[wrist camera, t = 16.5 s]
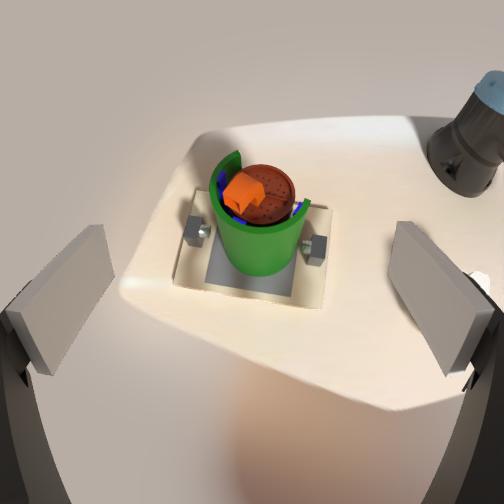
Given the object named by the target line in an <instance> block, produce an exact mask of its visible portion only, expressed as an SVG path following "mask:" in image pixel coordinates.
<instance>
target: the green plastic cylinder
mask: <svg viewBox="0 0 504 504" xmlns="http://www.w3.org/2000/svg"><path fill="white" fill-rule="evenodd" d="M209 194H210V199H211V203H212V206H213V210H214V214H215V217H216V221H217V224H218V228H219V231H220V235H221V238H222V242H223V245H224V249H225V252H226V255H227V257H228V259H229V261H230V262H231V264H232V265H233V266H234V267H235V268H236V269H238V270H239V271H241V272H242V273H245V274H247V275H250V276H256V277H264V276H270V275H273V274H275V273H277V272H279V271H281V270H282V269H283V268H284V267H286V266H287V264H288V263H289V262H290V260H291V259H292V257H293V254H294V251H295V248H296V245H297V242H298V239H299V236H300V233H301V230H302V227H303V224H304V221H305V218H306V215H307V212H308V209H309V206H310V202H311V200H308V199H306V198H305V199H304V202H303V203H301V202H300V203H299V204H298V206H297V208H296V209H295V211H294V212H293V216H292V217H291V214H292V210H293V205H294V201H295V188H294V185H293V183H292V181H291V179H290V178H289V177H288V176H287V175H286V174H285V173H284V172H283V171H281V170H280V169H278V168H276V167H273V166H270V165H263V164H259V165H252V166H248V167H246V168H243V169H242V167H241V154H240V153H239V151H238V150H237V151H235V152H233V153H231V154H229V155H228V156H227V157H225V158H224V159H223V160H222V161H221V162H220V163H219V164H218V166H217V167H216V168H215V170H214V172H213V174H212V177H211V180H210V185H209Z"/></svg>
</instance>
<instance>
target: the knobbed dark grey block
mask: <svg viewBox="0 0 504 504" xmlns="http://www.w3.org/2000/svg"><path fill="white" fill-rule="evenodd" d="M210 234H211V225H205V222H204V220H203V217H198V216H191V215H189V216H188V220H187V223H186V227H185V231H184V235H183V238H184V239H185V241H186V242H187V244H188V246H192V247H198V248H202V246H203V242H204V238H209V237H210Z"/></svg>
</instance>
